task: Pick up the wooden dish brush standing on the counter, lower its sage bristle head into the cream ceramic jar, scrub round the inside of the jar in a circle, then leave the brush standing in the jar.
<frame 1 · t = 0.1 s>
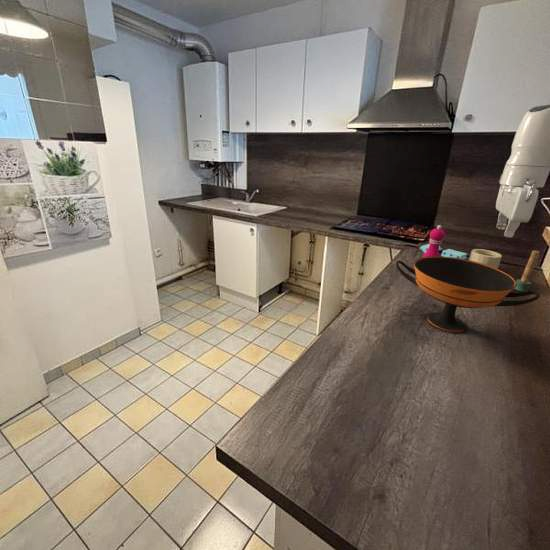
hand: (503, 232, 78), 30 cm above the worktop, tool pointing down, fingers open, 8 cm apart
pepper mill: (428, 268, 135), on the worktop
cup: (445, 323, 91), on the worktop
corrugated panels: (455, 259, 148), on the worktop
brush: (520, 289, 116), on the worktop
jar: (478, 276, 127), on the worktop
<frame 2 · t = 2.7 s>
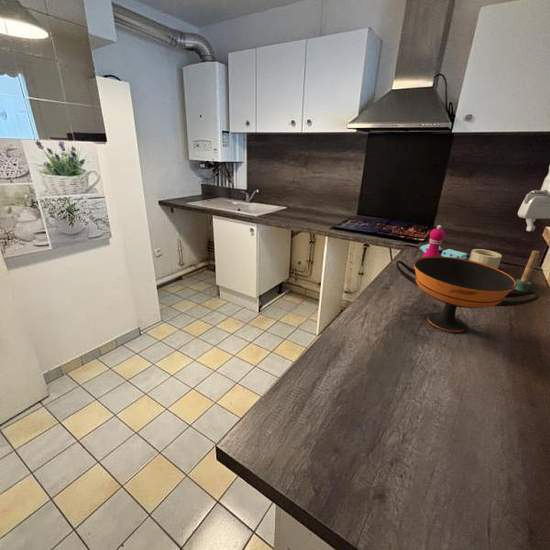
hand: (542, 230, 103), 25 cm above the worktop, tool pointing down, fingers open, 8 cm apart
nothing on the worktop moved.
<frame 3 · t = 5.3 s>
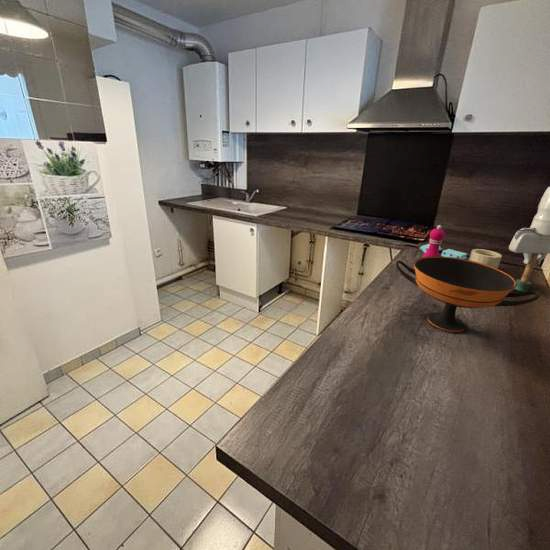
hand: (531, 263, 112), 11 cm above the worktop, tool pointing down, fingers closed on brush, 2 cm apart
brush: (520, 289, 116), on the worktop, touching gripper
everything else where it was.
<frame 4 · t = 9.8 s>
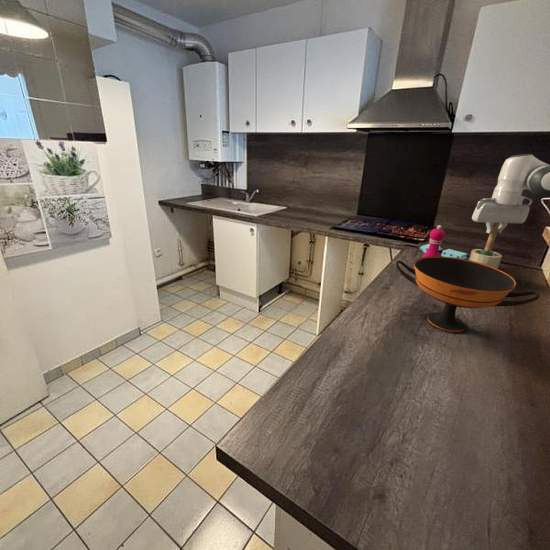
hand: (493, 233, 119), 20 cm above the worktop, tool pointing down, fingers closed on brush, 2 cm apart
brush: (484, 258, 123), point 8 cm above the worktop, touching gripper
everything else where it was.
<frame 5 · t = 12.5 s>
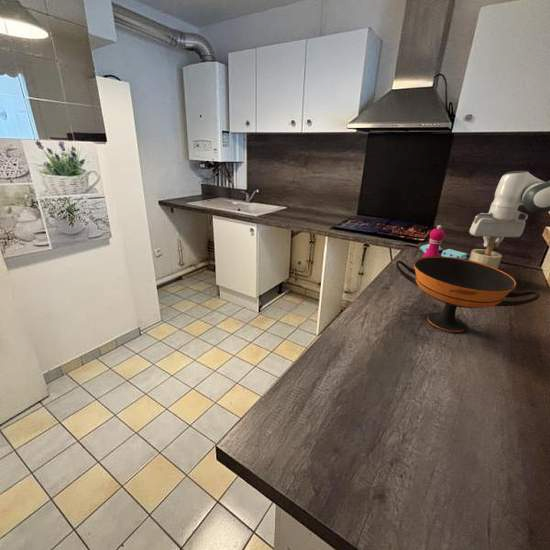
hand: (490, 246, 122), 14 cm above the worktop, tool pointing down, fingers closed on brush, 2 cm apart
brush: (481, 270, 126), point 3 cm above the worktop, touching gripper
everything else where it was.
when the fingers open (12 cm above the worktop, at t = 14.3 s): brush stays where it is, resting on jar.
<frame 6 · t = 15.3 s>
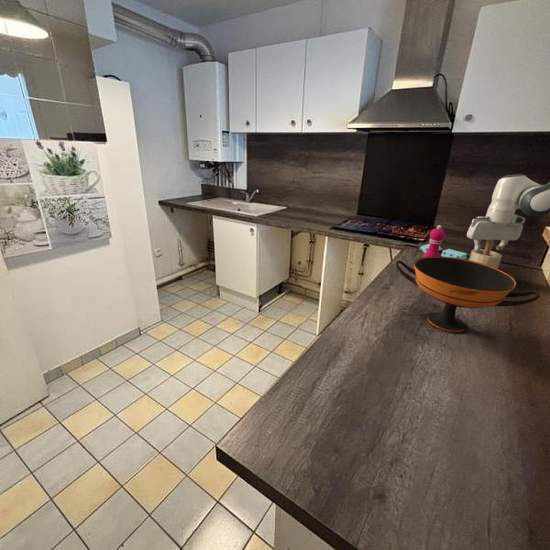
hand: (487, 249, 122), 12 cm above the worktop, tool pointing down, fingers open, 8 cm apart
brush: (478, 275, 126), point 1 cm above the worktop, touching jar
everything else where it was.
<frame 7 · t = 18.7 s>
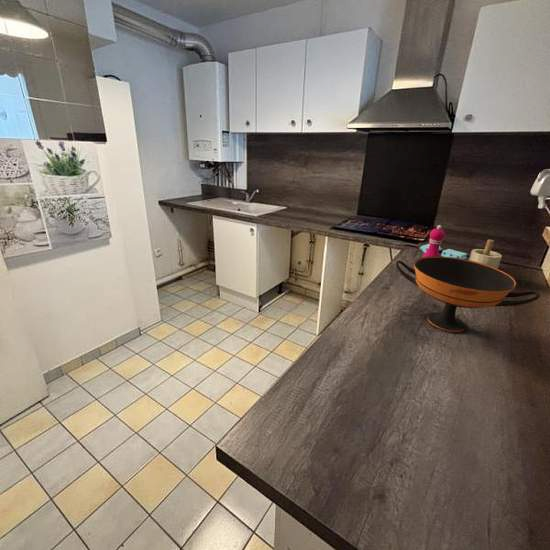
nothing on the worktop moved.
at the end: brush inside the target area in the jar (0.1 cm from its centre), point 0.6 cm above the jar's base; the gripper is holding nothing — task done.
